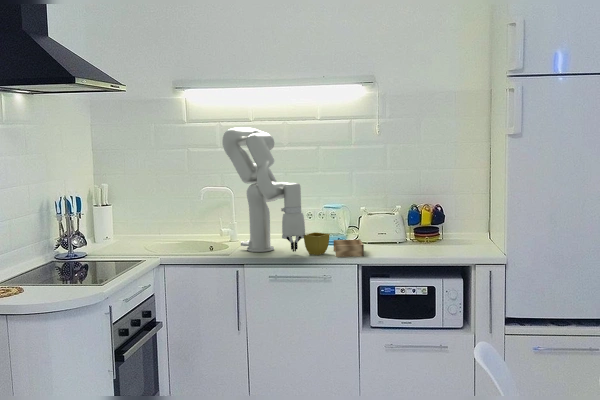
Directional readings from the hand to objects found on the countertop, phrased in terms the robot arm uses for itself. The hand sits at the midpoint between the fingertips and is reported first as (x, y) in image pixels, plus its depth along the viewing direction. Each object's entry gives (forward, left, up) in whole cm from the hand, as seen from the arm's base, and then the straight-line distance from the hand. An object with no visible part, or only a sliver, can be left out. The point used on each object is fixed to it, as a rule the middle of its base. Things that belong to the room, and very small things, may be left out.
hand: (294, 251), depth 292 cm
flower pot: (+10, 0, -2) cm, 10 cm away
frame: (+24, 0, -2) cm, 24 cm away
